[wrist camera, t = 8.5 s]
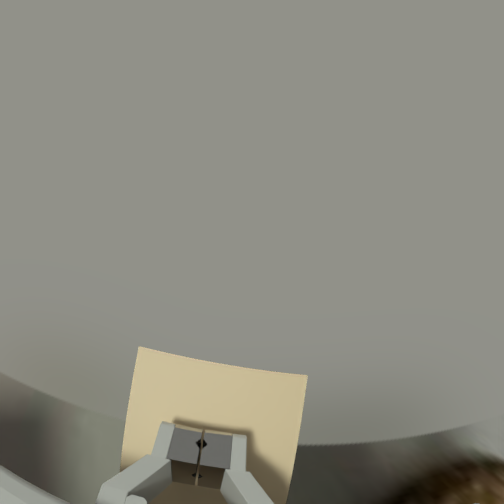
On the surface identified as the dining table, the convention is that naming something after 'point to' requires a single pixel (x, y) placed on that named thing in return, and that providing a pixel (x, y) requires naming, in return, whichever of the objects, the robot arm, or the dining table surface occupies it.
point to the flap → (216, 417)
